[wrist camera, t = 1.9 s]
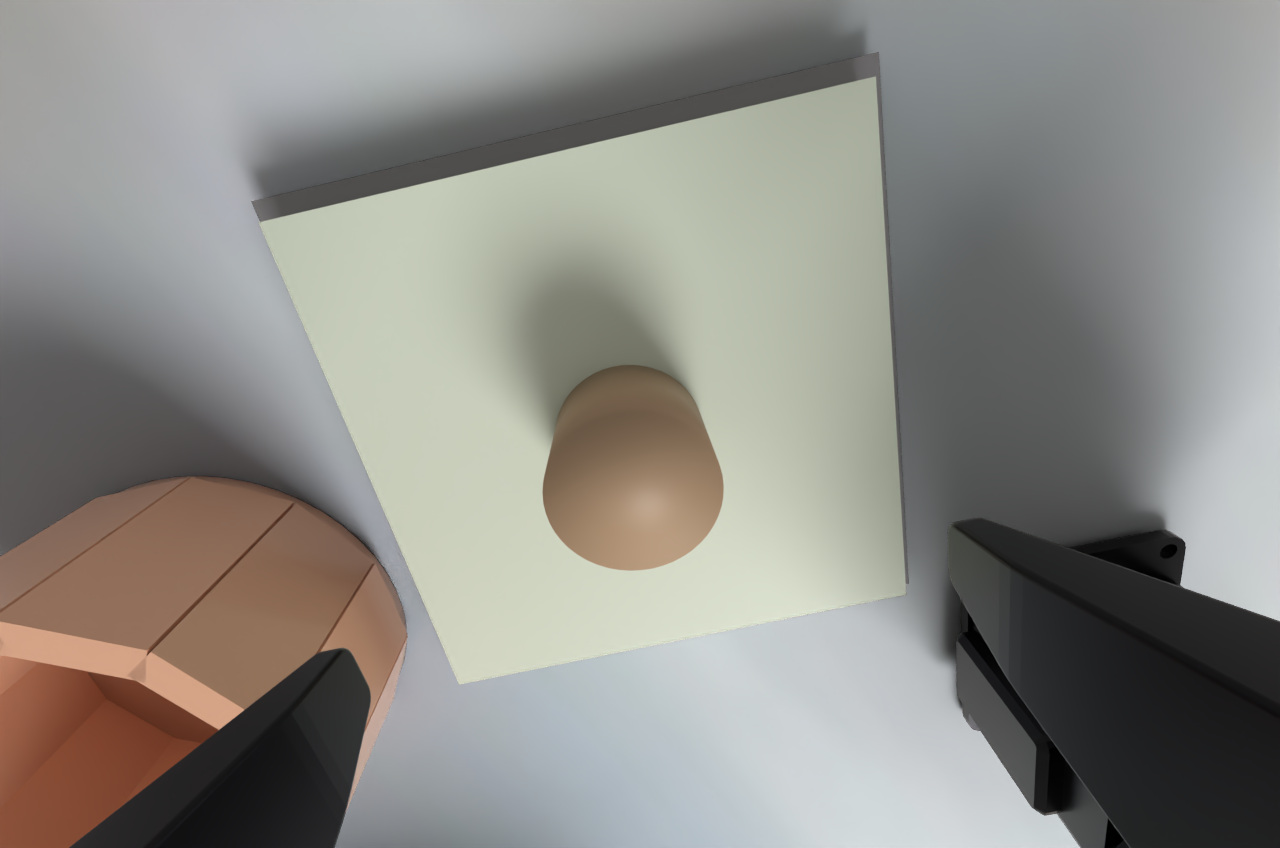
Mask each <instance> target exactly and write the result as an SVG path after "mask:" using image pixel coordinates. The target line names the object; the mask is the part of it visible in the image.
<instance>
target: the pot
mask: <svg viewBox="0 0 1280 848" xmlns="http://www.w3.org/2000/svg"><path fill="white" fill-rule="evenodd" d="M407 638H408V636H407V631H406V622H405V617H404V612H403V608H402V605H401V602H400V599H399V597H398V594H397V591H396V589H395V587H394V586H393V584H392V582H391V580H390V578H389V576H388V574H387V573H386V571H385V570H384V569H383V567H382V566H381V565H380V563H379V562H378V560H377V559H376V558H375V556H374V555H373V554H372V553H371V552H370V551H369V550H368V549H367V548H366V547H365V546H364V544H363V543H362V542H361V541H360V540H359V539H357V538H356V537H355V536H354V535H353V534H352V533H350V532H349V531H348V530H347V529H346V528H345V527H343V526H342V525H341V524H339V523H338V522H336V521H335V520H333V519H332V518H331V517H329V516H328V515H326V514H325V513H323V512H322V511H320V510H318V509H316V508H314V507H312V506H311V505H309V504H307V503H305V502H303V501H301V500H299V499H297V498H294V497H292V496H289V495H287V494H285V493H282V492H280V491H277V490H274V489H271V488H268V487H264V486H261V485H257V484H254V483H250V482H245V481H239V480H234V479H229V478H219V477H206V476H189V477H173V478H166V479H160V480H153V481H150V482H146V483H143V484H140V485H136V486H133V487H130V488H128V489H126V490H123V491H121V492H119V493H115V494H111V495H106V496H101V497H97V498H95V499H93V500H92V501H90V502H88V503H87V504H85V505H83V506H82V507H80V508H79V509H77V510H75V511H74V512H72V513H70V514H69V515H67V516H66V517H64V518H62V519H61V520H59V521H57V522H56V523H54V524H53V525H51V526H49V527H48V528H46V529H44V530H43V531H41V532H40V533H38V534H36V535H35V536H33V537H31V538H30V539H28V540H27V541H25V542H23V543H22V544H20V545H18V546H17V547H15V548H14V549H12V550H10V551H9V552H7V553H5V554H4V555H2V556H1V557H0V848H69V847H70V846H71V845H73V844H74V843H75V842H76V841H78V840H79V839H80V838H82V837H83V836H84V835H85V834H87V833H88V832H89V831H90V830H92V829H93V828H94V827H96V826H97V825H98V824H99V823H101V822H102V821H103V820H105V819H106V818H107V817H108V816H110V815H111V814H112V813H113V812H115V811H116V810H117V809H119V808H120V807H121V806H122V805H124V804H125V803H126V802H128V801H129V800H130V799H131V798H133V797H134V796H135V795H136V794H138V793H139V792H140V791H142V790H143V789H144V788H145V787H147V786H148V785H149V784H151V783H152V782H153V781H154V780H156V779H157V778H158V777H159V776H161V775H162V774H163V773H165V772H166V771H167V770H168V769H170V768H171V767H172V766H173V765H175V764H176V763H177V762H179V761H180V760H181V759H182V758H184V757H185V756H186V755H188V754H189V753H190V752H191V751H193V750H194V749H195V748H196V747H198V746H199V745H200V744H202V743H203V742H204V741H205V740H207V739H208V738H209V737H211V736H212V735H213V734H214V733H216V732H217V731H218V730H219V729H221V728H222V727H223V726H225V725H226V724H227V723H228V722H230V721H231V720H232V719H233V718H235V717H236V716H237V715H239V714H240V713H241V712H242V711H244V710H245V709H246V708H248V707H249V706H250V705H251V704H253V703H254V702H255V701H256V700H258V699H259V698H260V697H262V696H263V695H264V694H265V693H267V692H268V691H269V690H271V689H272V688H273V687H274V686H276V685H277V684H278V683H279V682H281V681H282V680H283V679H285V678H286V677H287V676H288V675H290V674H291V673H292V672H294V671H295V670H296V669H297V668H299V667H300V666H301V665H302V664H304V663H305V662H306V661H308V660H309V659H310V658H311V657H313V656H314V655H315V654H317V653H319V652H322V651H327V650H332V649H337V648H347V649H348V650H350V651H351V652H352V654H353V656H354V658H355V660H356V662H357V664H358V666H359V668H360V669H361V671H362V673H363V675H364V677H365V679H366V681H367V683H368V685H369V688H370V692H371V704H370V709H369V714H368V718H367V723H366V727H365V732H364V736H363V741H362V745H361V750H360V754H359V759H358V763H357V768H356V772H355V777H354V781H353V786H352V790H351V794H350V798H349V802H348V806H349V804H350V801H351V799H352V796H353V794H354V792H355V789H356V787H357V785H358V782H359V780H360V777H361V775H362V773H363V770H364V768H365V766H366V763H367V761H368V759H369V756H370V754H371V751H372V749H373V747H374V744H375V742H376V740H377V737H378V735H379V732H380V730H381V728H382V725H383V723H384V721H385V718H386V716H387V713H388V711H389V709H390V706H391V704H392V702H393V699H394V695H395V691H396V686H397V682H398V677H399V675H400V672H401V669H402V666H403V662H404V659H405V653H406V645H407ZM348 806H347V808H348ZM346 811H347V809H346Z"/></svg>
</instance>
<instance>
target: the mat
mask: <svg viewBox="0 0 1280 848" xmlns="http://www.w3.org/2000/svg"><path fill="white" fill-rule="evenodd" d="M875 76H876V87H877V104H878V121H879V138H880V155H881V172H882V189H883V206H884V223H885V240H886V257H887V274H888V291H889V308H890V325H891V342H892V359H893V376H894V393H895V410H896V427H897V444H898V461H899V478H900V495H901V512H902V529H903V546H904V563H905V581H906V584H908V583H909V580H908V562H907V544H906V527H905V509H904V491H903V474H902V456H901V438H900V420H899V403H898V385H897V367H896V349H895V332H894V314H893V296H892V279H891V261H890V243H889V225H888V208H887V190H886V172H885V154H884V137H883V119H882V101H881V84H880V66H879V52H877V53H872V54H868V55H864V56H860V57H856V58H851V59H847V60H843V61H839V62H835V63H830V64H826V65H822V66H818V67H814V68H809V69H805V70H801V71H797V72H793V73H788V74H784V75H780V76H776V77H772V78H767V79H763V80H759V81H755V82H751V83H746V84H742V85H738V86H734V87H730V88H725V89H721V90H717V91H713V92H709V93H704V94H700V95H696V96H692V97H688V98H683V99H679V100H675V101H671V102H667V103H663V104H658V105H654V106H650V107H646V108H642V109H637V110H633V111H629V112H625V113H621V114H616V115H612V116H608V117H604V118H600V119H595V120H591V121H587V122H583V123H579V124H574V125H570V126H566V127H562V128H558V129H553V130H549V131H545V132H541V133H537V134H532V135H528V136H524V137H520V138H516V139H511V140H507V141H503V142H499V143H495V144H490V145H486V146H482V147H478V148H474V149H469V150H465V151H461V152H457V153H453V154H448V155H444V156H440V157H436V158H432V159H427V160H423V161H419V162H415V163H411V164H406V165H402V166H398V167H394V168H390V169H385V170H381V171H377V172H373V173H369V174H364V175H360V176H356V177H352V178H348V179H344V180H339V181H335V182H331V183H327V184H323V185H318V186H314V187H310V188H306V189H302V190H297V191H293V192H289V193H285V194H281V195H276V196H272V197H268V198H264V199H260V200H255V201H251V202H252V204H253V207H254V209H255V211H256V213H257V216H258V218H259V220H260V222H263V221H267V220H271V219H275V218H280V217H284V216H288V215H292V214H296V213H301V212H305V211H309V210H313V209H318V208H322V207H326V206H330V205H334V204H339V203H343V202H347V201H351V200H356V199H360V198H364V197H368V196H372V195H377V194H381V193H385V192H389V191H394V190H398V189H402V188H406V187H411V186H415V185H419V184H423V183H427V182H432V181H436V180H440V179H444V178H449V177H453V176H457V175H461V174H465V173H470V172H474V171H478V170H482V169H487V168H491V167H495V166H499V165H503V164H508V163H512V162H516V161H520V160H525V159H529V158H533V157H537V156H542V155H546V154H550V153H554V152H558V151H563V150H567V149H571V148H575V147H580V146H584V145H588V144H592V143H596V142H601V141H605V140H609V139H613V138H618V137H622V136H626V135H630V134H634V133H639V132H643V131H647V130H651V129H656V128H660V127H664V126H668V125H673V124H677V123H681V122H685V121H689V120H694V119H698V118H702V117H706V116H711V115H715V114H719V113H723V112H727V111H732V110H736V109H740V108H744V107H749V106H753V105H757V104H761V103H765V102H770V101H774V100H778V99H782V98H787V97H791V96H795V95H799V94H804V93H808V92H812V91H816V90H820V89H825V88H829V87H833V86H837V85H842V84H846V83H850V82H854V81H858V80H863V79H867V78H871V77H875Z"/></svg>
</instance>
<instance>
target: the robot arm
mask: <svg viewBox="0 0 1280 848" xmlns="http://www.w3.org/2000/svg"><path fill="white" fill-rule="evenodd" d="M1185 549H1186V547H1185V542H1184V541H1183V540H1182V539H1181V538H1179V537H1178V536H1176V535H1175V534H1173V533H1172V532H1170V531H1167V530H1158V531H1153V532H1148V533H1143V534H1138V535H1133V536H1128V537H1123V538H1118V539H1113V540H1108V541H1103V542H1098V543H1093V544H1088V545H1083V546H1079V547H1074V548H1067V547H1064V546H1061V545H1058V544H1055V543H1052V542H1049V541H1046V540H1044V539H1041V538H1038V537H1035V536H1032V535H1029V534H1026V533H1023V532H1020V531H1018V530H1015V529H1012V528H1009V527H1006V526H1003V525H1000V524H997V523H994V522H992V521H989V520H986V519H983V518H972V519H967V520H962V521H957V522H953V523H952V524H951V525H950V526H949V529H948V562H949V574H950V578H951V581H952V584H953V586H954V588H955V590H956V591H957V593H958V595H959V597H960V598H961V633H960V634H959V636H958V638H957V641H956V653H957V695H958V698H959V699H960V701H961V702H962V707H963V716H964V718H965V720H966V721H967V723H968V724H969V726H970V727H971V728H972V729H973V730H977V731H981V732H982V734H983V735H984V737H985V738H986V740H987V741H988V743H989V744H990V746H991V747H992V749H993V750H994V752H995V753H996V755H997V756H998V758H999V759H1000V761H1001V762H1002V764H1003V765H1004V767H1005V768H1006V770H1007V771H1008V773H1009V774H1010V776H1011V777H1012V779H1013V780H1014V782H1015V783H1016V785H1017V786H1018V788H1019V789H1020V791H1021V792H1022V794H1023V795H1024V797H1025V798H1026V800H1027V801H1028V803H1029V804H1030V806H1031V807H1032V808H1033V809H1035V810H1036V811H1038V812H1039V813H1041V814H1042V815H1051V814H1056V813H1057V815H1058V816H1059V818H1060V819H1061V821H1062V822H1063V823H1064V825H1065V826H1066V828H1067V829H1068V831H1069V832H1070V833H1071V835H1072V836H1073V838H1074V839H1075V841H1076V842H1077V843H1078V845H1079V846H1080V848H1280V621H1277V620H1275V619H1272V618H1269V617H1266V616H1263V615H1260V614H1257V613H1254V612H1251V611H1249V610H1246V609H1243V608H1240V607H1237V606H1234V605H1231V604H1228V603H1225V602H1223V601H1220V600H1217V599H1214V598H1211V597H1208V596H1205V595H1202V594H1199V593H1197V592H1194V591H1191V590H1188V589H1185V588H1183V587H1182V586H1180V582H1181V575H1182V569H1183V562H1184V556H1185ZM370 704H371V692H370V688H369V685H368V683H367V681H366V679H365V677H364V675H363V673H362V671H361V669H360V668H359V666H358V664H357V662H356V660H355V658H354V656H353V654H352V652H351V651H350V650H348V649H347V648H337V649H332V650H327V651H322V652H319V653H317V654H315V655H314V656H313V657H311V658H310V659H309V660H308V661H306V662H305V663H304V664H302V665H301V666H300V667H299V668H297V669H296V670H295V671H294V672H292V673H291V674H290V675H288V676H287V677H286V678H285V679H283V680H282V681H281V682H279V683H278V684H277V685H276V686H274V687H273V688H272V689H271V690H269V691H268V692H267V693H265V694H264V695H263V696H262V697H260V698H259V699H258V700H256V701H255V702H254V703H253V704H251V705H250V706H249V707H248V708H246V709H245V710H244V711H242V712H241V713H240V714H239V715H237V716H236V717H235V718H233V719H232V720H231V721H230V722H228V723H227V724H226V725H225V726H223V727H222V728H221V729H219V730H218V731H217V732H216V733H214V734H213V735H212V736H211V737H209V738H208V739H207V740H205V741H204V742H203V743H202V744H200V745H199V746H198V747H196V748H195V749H194V750H193V751H191V752H190V753H189V754H188V755H186V756H185V757H184V758H182V759H181V760H180V761H179V762H177V763H176V764H175V765H173V766H172V767H171V768H170V769H168V770H167V771H166V772H165V773H163V774H162V775H161V776H159V777H158V778H157V779H156V780H154V781H153V782H152V783H151V784H149V785H148V786H147V787H145V788H144V789H143V790H142V791H140V792H139V793H138V794H136V795H135V796H134V797H133V798H131V799H130V800H129V801H128V802H126V803H125V804H124V805H122V806H121V807H120V808H119V809H117V810H116V811H115V812H113V813H112V814H111V815H110V816H108V817H107V818H106V819H105V820H103V821H102V822H101V823H99V824H98V825H97V826H96V827H94V828H93V829H92V830H90V831H89V832H88V833H87V834H85V835H84V836H83V837H82V838H80V839H79V840H78V841H76V842H75V843H74V844H73V845H71V846H70V847H69V848H335V845H336V842H337V839H338V835H339V832H340V829H341V826H342V823H343V819H344V816H345V813H346V809H347V806H348V802H349V798H350V794H351V790H352V786H353V781H354V777H355V772H356V768H357V763H358V759H359V754H360V750H361V745H362V741H363V736H364V732H365V727H366V723H367V718H368V714H369V709H370Z"/></svg>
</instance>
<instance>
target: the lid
mask: <svg viewBox="0 0 1280 848" xmlns="http://www.w3.org/2000/svg"><path fill="white" fill-rule="evenodd" d="M258 223H259V225H260V227H261V230H262V232H263V234H264V237H265V239H266V241H267V244H268V246H269V248H270V250H271V253H272V255H273V257H274V260H275V262H276V264H277V267H278V269H279V271H280V273H281V276H282V278H283V280H284V283H285V285H286V287H287V290H288V292H289V294H290V296H291V299H292V301H293V303H294V306H295V308H296V310H297V313H298V315H299V317H300V319H301V322H302V324H303V326H304V329H305V331H306V333H307V336H308V338H309V340H310V342H311V345H312V347H313V349H314V352H315V354H316V356H317V359H318V361H319V363H320V365H321V368H322V370H323V372H324V375H325V377H326V379H327V382H328V384H329V386H330V388H331V391H332V393H333V395H334V398H335V400H336V402H337V405H338V407H339V409H340V411H341V414H342V416H343V418H344V421H345V423H346V425H347V428H348V430H349V432H350V434H351V437H352V439H353V441H354V444H355V446H356V448H357V451H358V453H359V455H360V458H361V460H362V462H363V464H364V467H365V469H366V471H367V474H368V476H369V478H370V481H371V483H372V485H373V487H374V490H375V492H376V494H377V497H378V499H379V501H380V504H381V506H382V508H383V510H384V513H385V515H386V517H387V520H388V522H389V524H390V527H391V529H392V531H393V533H394V536H395V538H396V540H397V543H398V545H399V547H400V550H401V552H402V554H403V556H404V559H405V561H406V563H407V566H408V568H409V570H410V573H411V575H412V577H413V579H414V582H415V584H416V586H417V589H418V591H419V593H420V596H421V598H422V600H423V602H424V605H425V607H426V609H427V612H428V614H429V616H430V619H431V621H432V623H433V625H434V628H435V630H436V632H437V635H438V637H439V639H440V642H441V644H442V646H443V649H444V651H445V653H446V655H447V658H448V660H449V662H450V665H451V667H452V669H453V672H454V674H455V676H456V678H457V681H458V683H459V685H460V684H465V683H470V682H475V681H479V680H484V679H489V678H494V677H499V676H504V675H509V674H514V673H519V672H524V671H529V670H534V669H539V668H544V667H549V666H554V665H559V664H564V663H569V662H574V661H579V660H584V659H589V658H594V657H599V656H604V655H609V654H614V653H619V652H624V651H629V650H634V649H639V648H644V647H649V646H654V645H658V644H663V643H668V642H673V641H678V640H683V639H688V638H693V637H698V636H703V635H708V634H713V633H718V632H723V631H728V630H733V629H738V628H743V627H748V626H753V625H758V624H763V623H768V622H773V621H778V620H783V619H788V618H793V617H798V616H803V615H808V614H813V613H818V612H823V611H828V610H833V609H837V608H842V607H847V606H852V605H857V604H862V603H867V602H872V601H877V600H882V599H887V598H892V597H897V596H902V595H906V581H905V563H904V546H903V529H902V512H901V495H900V478H899V461H898V444H897V427H896V410H895V393H894V376H893V359H892V342H891V325H890V308H889V291H888V274H887V257H886V240H885V223H884V206H883V189H882V172H881V155H880V138H879V121H878V104H877V87H876V76H875V77H871V78H867V79H863V80H858V81H854V82H850V83H846V84H842V85H837V86H833V87H829V88H825V89H820V90H816V91H812V92H808V93H804V94H799V95H795V96H791V97H787V98H782V99H778V100H774V101H770V102H765V103H761V104H757V105H753V106H749V107H744V108H740V109H736V110H732V111H727V112H723V113H719V114H715V115H711V116H706V117H702V118H698V119H694V120H689V121H685V122H681V123H677V124H673V125H668V126H664V127H660V128H656V129H651V130H647V131H643V132H639V133H634V134H630V135H626V136H622V137H618V138H613V139H609V140H605V141H601V142H596V143H592V144H588V145H584V146H580V147H575V148H571V149H567V150H563V151H558V152H554V153H550V154H546V155H542V156H537V157H533V158H529V159H525V160H520V161H516V162H512V163H508V164H503V165H499V166H495V167H491V168H487V169H482V170H478V171H474V172H470V173H465V174H461V175H457V176H453V177H449V178H444V179H440V180H436V181H432V182H427V183H423V184H419V185H415V186H411V187H406V188H402V189H398V190H394V191H389V192H385V193H381V194H377V195H372V196H368V197H364V198H360V199H356V200H351V201H347V202H343V203H339V204H334V205H330V206H326V207H322V208H318V209H313V210H309V211H305V212H301V213H296V214H292V215H288V216H284V217H280V218H275V219H271V220H267V221H263V222H258Z"/></svg>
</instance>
